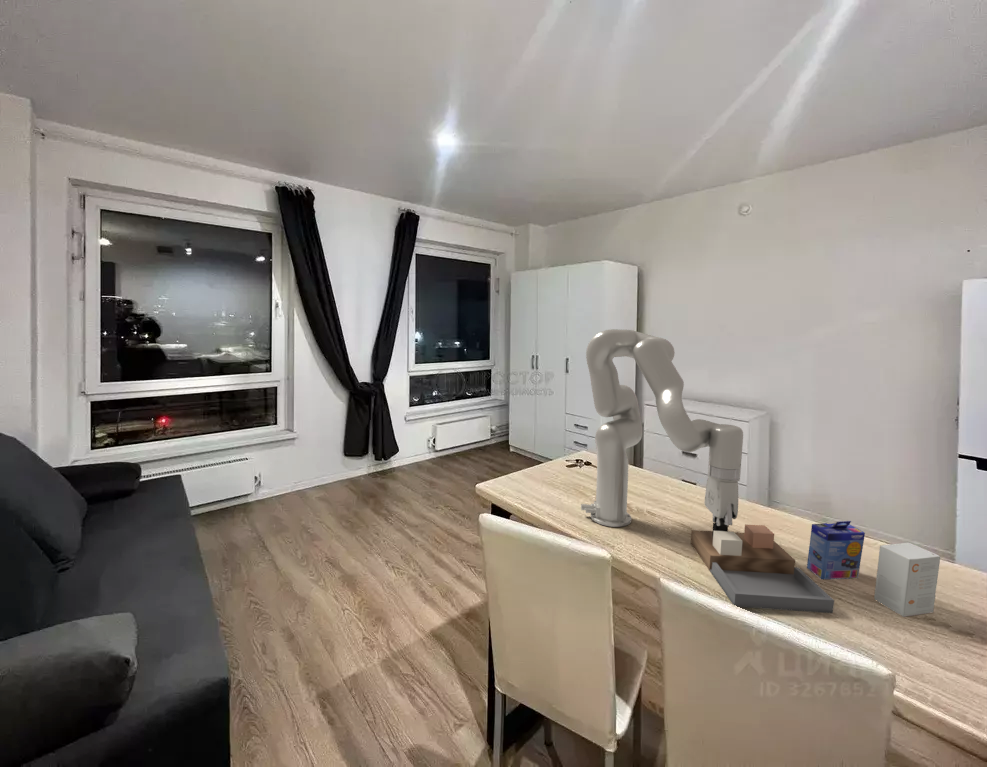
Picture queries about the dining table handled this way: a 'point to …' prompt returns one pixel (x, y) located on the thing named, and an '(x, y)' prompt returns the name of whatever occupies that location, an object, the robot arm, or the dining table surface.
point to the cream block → (727, 543)
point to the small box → (907, 578)
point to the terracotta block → (759, 536)
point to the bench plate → (743, 556)
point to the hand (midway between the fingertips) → (719, 538)
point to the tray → (773, 590)
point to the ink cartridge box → (835, 550)
